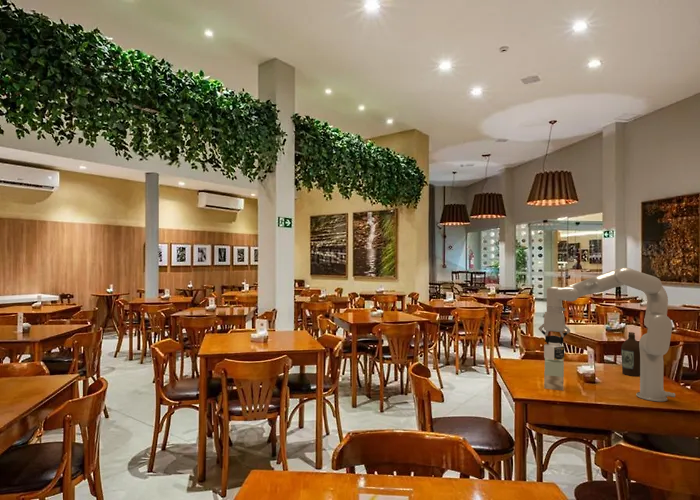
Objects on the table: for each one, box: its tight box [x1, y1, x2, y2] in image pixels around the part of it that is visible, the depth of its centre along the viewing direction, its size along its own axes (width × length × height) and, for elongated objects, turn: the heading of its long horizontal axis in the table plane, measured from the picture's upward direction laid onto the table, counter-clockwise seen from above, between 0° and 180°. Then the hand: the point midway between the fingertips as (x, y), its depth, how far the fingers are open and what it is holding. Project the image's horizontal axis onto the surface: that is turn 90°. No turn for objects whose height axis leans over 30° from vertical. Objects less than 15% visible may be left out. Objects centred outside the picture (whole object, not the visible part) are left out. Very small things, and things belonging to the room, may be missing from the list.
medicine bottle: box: [543, 335, 565, 361], centre depth 238 cm, size 7×7×12 cm
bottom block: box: [543, 370, 565, 391], centre depth 238 cm, size 9×9×7 cm
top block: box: [544, 358, 565, 377], centre depth 238 cm, size 9×9×7 cm
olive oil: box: [620, 331, 640, 377], centre depth 269 cm, size 11×11×25 cm
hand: (554, 343), depth 238 cm, fingers closed on medicine bottle, 6 cm apart
